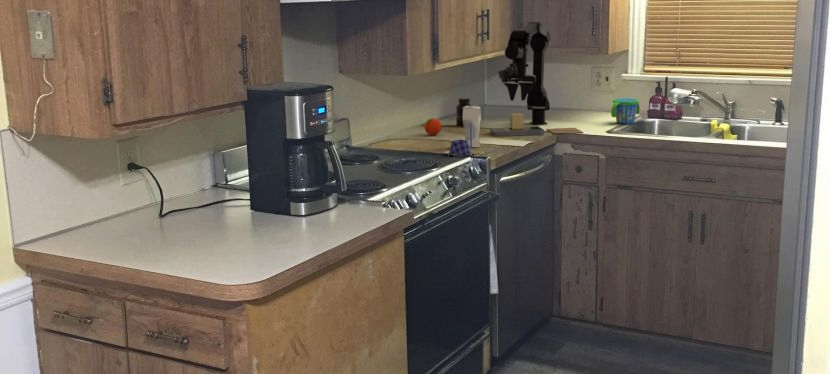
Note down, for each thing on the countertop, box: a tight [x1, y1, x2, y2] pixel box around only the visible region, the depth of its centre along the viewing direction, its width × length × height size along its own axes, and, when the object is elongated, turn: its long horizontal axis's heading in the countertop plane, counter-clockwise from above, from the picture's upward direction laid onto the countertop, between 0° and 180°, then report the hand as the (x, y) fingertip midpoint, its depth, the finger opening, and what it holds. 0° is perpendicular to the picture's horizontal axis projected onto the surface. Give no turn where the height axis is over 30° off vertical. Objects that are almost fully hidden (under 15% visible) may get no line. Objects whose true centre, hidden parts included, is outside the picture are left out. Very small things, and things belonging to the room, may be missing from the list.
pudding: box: [443, 139, 478, 155], centre depth 328 cm, size 12×12×5 cm
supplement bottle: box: [455, 97, 472, 127], centre depth 392 cm, size 7×7×12 cm
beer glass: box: [462, 105, 482, 148], centre depth 342 cm, size 7×7×15 cm
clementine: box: [424, 117, 442, 136], centre depth 370 cm, size 8×7×7 cm
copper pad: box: [546, 127, 584, 136], centre depth 372 cm, size 12×12×1 cm
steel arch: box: [489, 125, 545, 138], centre depth 370 cm, size 10×20×2 cm, turn 97°
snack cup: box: [610, 97, 641, 125], centre depth 389 cm, size 16×10×10 cm
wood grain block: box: [509, 112, 525, 130], centre depth 369 cm, size 4×4×8 cm
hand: (517, 100), depth 366 cm, fingers open, 9 cm apart
